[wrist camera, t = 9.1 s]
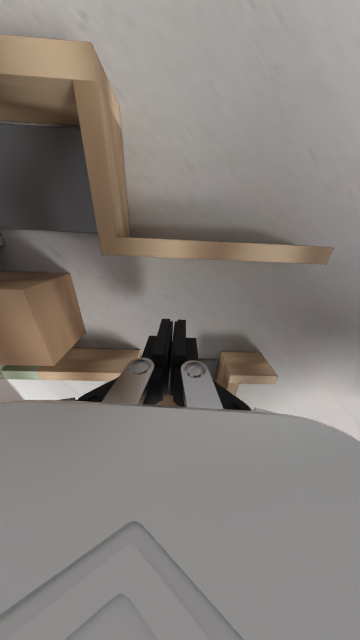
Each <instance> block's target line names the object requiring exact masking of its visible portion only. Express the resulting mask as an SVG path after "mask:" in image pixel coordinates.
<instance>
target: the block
mask: <svg viewBox="0 0 360 640" xmlns="http://www.w3.org/2000/svg"><path fill="white" fill-rule="evenodd" d="M85 333H86V331H85V328H84V324H83V320H82V316H81V312H80V309H79V305H78V301H77V297H76V293H75V290H74V286H73V282H72V278H71V274H70V273H45V272H17V271H0V365H26V366H55V365H56V364H57V362H58V361H59V360H60V359H61V358H62V357H63V356H64V355H65V354H66V353H67V352H68V351H69V350H70V349H71V348H72V347H73V346H74V345H75V343H76V342H77V341H78V340H79V339H80V338H81V337H82V336H83V335H84V334H85Z"/></svg>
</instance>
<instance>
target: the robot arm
mask: <svg viewBox="0 0 360 640" xmlns="http://www.w3.org/2000/svg"><path fill="white" fill-rule="evenodd" d="M172 331H173V321H170V319H162V321H161V324H160V328H159V331H158V334H157V336H149V338H148V341H147V343H146V346H145V349H144V351H143V354H142V357H141V358H136V359H134V360H132V361H130V362H129V363H128V364H127V366H126V367H125V368H124V370H123V371H122V373H121V374H120V376H119V377H117V378H115V379H114V380H112V381H110V382H108V383H106V384H104V385H102V386H100V387H98V388H96V389H94V390H92V391H90V392H88V393H86V394H85V395H83V396H81V397H80V398H79V399H78V400H75V398H69V399H62V400H22V401H11V402H4V403H0V640H360V441H358V440H357V439H355V438H354V437H352V436H351V435H349V434H347V433H345V432H343V431H341V430H339V429H336V428H334V427H332V426H329V425H326V424H324V423H321V422H318V421H315V420H311V419H307V418H303V417H299V416H293V415H288V414H278V413H274V412H270V411H266V410H262V409H258V408H255V409H254V410H252V409H250V408H249V406H247V405H246V404H245V403H244V402H243V401H241V400H240V399H238V398H237V397H236V396H234V395H233V394H232V393H230V392H229V391H227V390H226V389H225V388H223V387H222V386H220V385H219V384H218V383H216V382H215V381H213V380H212V378H211V375H210V372H209V370H208V368H207V366H206V365H205V364H204V363H202V362H200V361H198V352H197V343H196V338H186V320H178V322H176V321H175V326H174V333H173V341H172ZM169 375H170V396H173V402H175V404H176V405H177V406H163V405H156V404H157V403H158V402H160V401H163V397H164V395H167V392H168V384H169Z"/></svg>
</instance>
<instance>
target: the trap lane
mask: <svg viewBox="0 0 360 640" xmlns="http://www.w3.org/2000/svg"><path fill="white" fill-rule="evenodd" d="M0 121H12V122H26V123H41V124H55V125H70V126H80V128H81V129H73V128H58V127H44V126H29V125H15V124H0V228H8V229H29V230H50V231H71V232H91V233H98V237H99V243H100V249H101V255H123V256H146V257H169V258H191V259H214V260H237V261H260V262H283V263H306V264H327V262H328V260H329V258H330V255H331V253H332V251H333V249H334V248H331V247H317V246H303V245H284V244H263V243H242V242H221V241H200V240H179V239H158V238H136V237H130V227H129V215H128V203H127V192H126V180H125V168H124V157H123V145H122V133H121V122H120V110H119V104H118V101H117V99H116V97H115V95H114V92H113V90H112V88H111V86H110V83H109V81H108V79H107V77H106V74H105V72H104V70H103V68H102V65H101V63H100V61H99V58H98V56H97V54H96V52H95V49H94V47H93V45H92V43H91V42H81V41H69V40H58V39H46V38H34V37H23V36H11V35H0ZM1 245H5V244H4V241H3V239H2V237H1V234H0V246H1ZM136 358H141V355H140V350H136V349H95V348H71V349H70V350H69V351H68V352H67V353H66V354H65V355H64V356H63V357H62V358H61V359H60V360H59V361H58V362H57V364H56V365H55V366H26V365H0V379H29V380H84V381H112V380H114V379H115V378H117V377H119V376H120V374H121V373H122V371H123V370H124V368H125V367H126V366H127V364H128V363H129V362H130V361H132V360H134V359H136ZM198 361H200V362H202V363H204V364H205V365H206V366H207V368H208V370H209V372H210V375H211V378H212V380H213V381H215V376H216V371H217V365H218V360H198ZM277 378H278V376H277V374H276V373H275V371H274V370H273V369H272V367H271V366H270V364H269V363H268V362H267V360H266V359H265V358H264V356H263V355H262V353H256V352H221V356H220V361H219V366H218V371H217V376H216V381H215V382H216V383H218V384H219V385H220V386H222V387H223V388H225V389H226V390H227V391H229V392H230V393H232V394H233V395H234V396H235V395H236V392H237V388H238V385H239V383H247V384H275V382H276V380H277ZM156 405H163V406H177V405H176V404H175V402H173V396H170V375H169V384H168V392H167V395H164V397H163V401H160V402H158V403H157V404H156Z"/></svg>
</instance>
